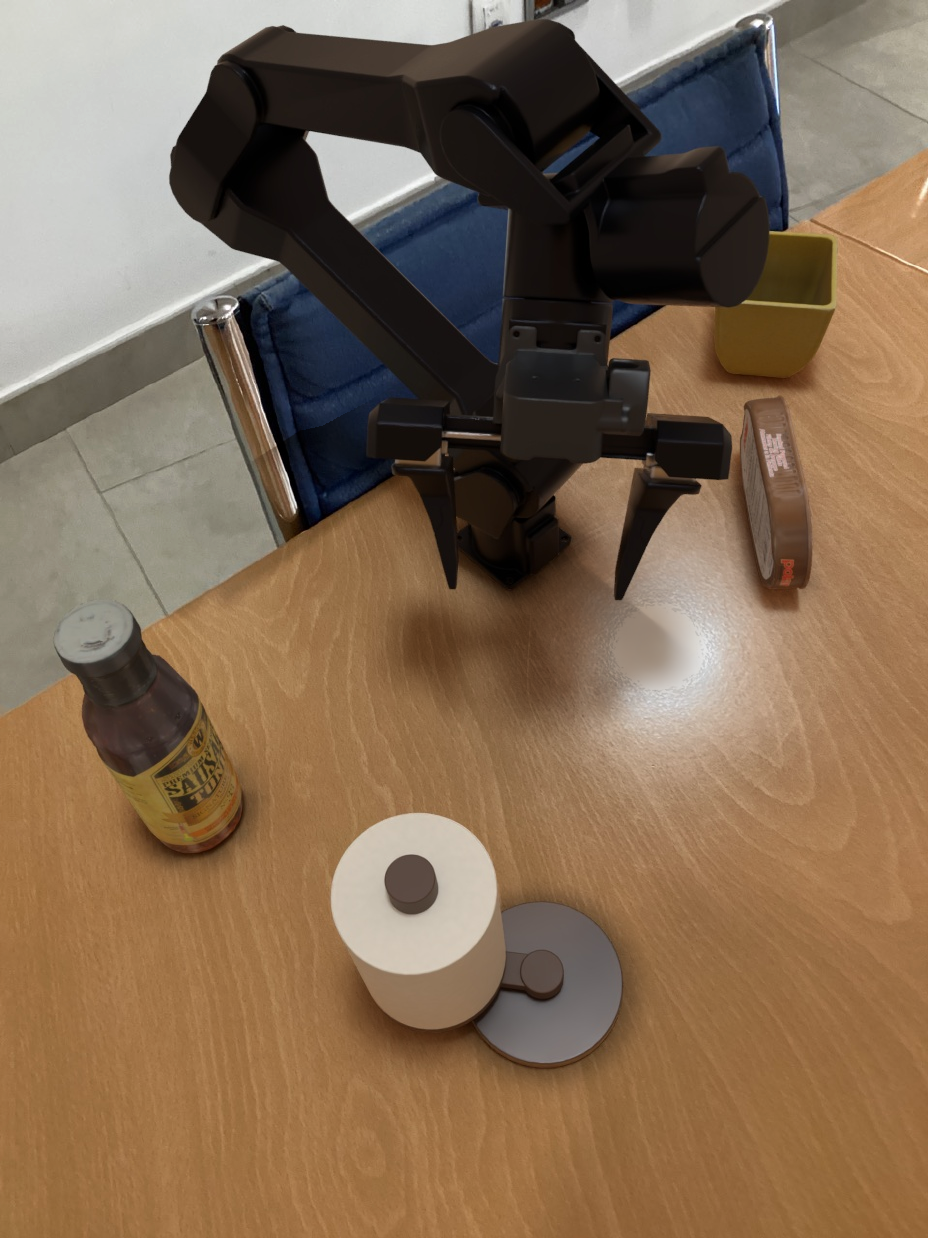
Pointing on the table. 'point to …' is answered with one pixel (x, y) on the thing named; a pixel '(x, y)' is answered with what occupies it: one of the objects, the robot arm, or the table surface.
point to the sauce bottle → (149, 729)
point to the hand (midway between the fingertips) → (535, 593)
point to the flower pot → (782, 308)
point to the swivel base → (580, 1005)
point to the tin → (775, 495)
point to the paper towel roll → (430, 924)
